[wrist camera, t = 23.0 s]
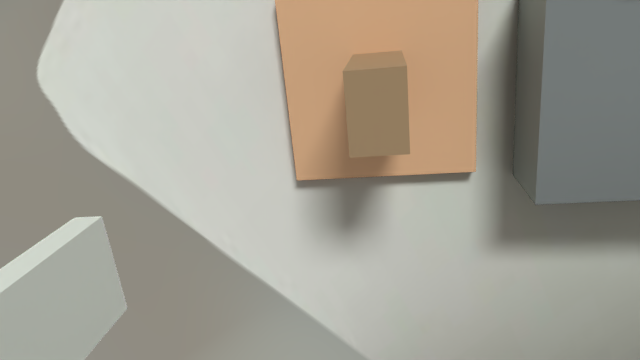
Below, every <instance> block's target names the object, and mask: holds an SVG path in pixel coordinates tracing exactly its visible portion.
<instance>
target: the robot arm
mask: <svg viewBox="0 0 640 360" xmlns="http://www.w3.org/2000/svg"><path fill="white" fill-rule="evenodd" d="M126 310H127V304H126V301H125V297H124V294H123V290H122V286H121V283H120V279H119V276H118V272H117V269H116V266H115V262H114V258H113V254H112V251H111V247H110V244H109V240H108V236H107V233H106V229H105V226H104V222H103V218H102V217H78V218H73V219H72V220H71V221H69V222H68V223H66V224H65V225H63V226H62V227H60V228H59V229H57V230H56V231H55V232H53V233H52V234H50V235H49V236H47V237H46V238H44V239H43V240H42V241H40V242H39V243H37V244H36V245H34V246H33V247H31V248H30V249H28V250H27V251H26V252H24V253H23V254H21V255H20V256H18V257H17V258H15V259H14V260H13V261H11V262H10V263H8V264H7V265H6V266H4V267H2V268H1V269H0V360H84V359H85V358H86V357H87V356H88V355H89V353H90V352H91V351H92V350H93V349H94V347H95V346H96V345H97V344H98V343H99V342H100V340H101V339H102V338H103V337H104V336H105V334H106V333H107V332H108V331H109V330H110V328H111V327H112V326H113V325H114V324H115V323H116V321H117V320H118V319H119V318H120V317H121V315H122V314H123V313H124V312H125V311H126Z"/></svg>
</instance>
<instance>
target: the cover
mask: <svg viewBox="0 0 640 360" xmlns="http://www.w3.org/2000/svg"><path fill="white" fill-rule="evenodd" d="M275 4H276V13H277V21H278V29H279V37H280V46H281V54H282V62H283V70H284V79H285V87H286V95H287V103H288V112H289V120H290V128H291V136H292V145H293V153H294V161H295V169H296V178H297V180H316V179H336V178H357V177H377V176H398V175H418V174H439V173H459V172H476V120H477V46H478V0H275Z"/></svg>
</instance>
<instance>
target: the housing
mask: <svg viewBox="0 0 640 360" xmlns="http://www.w3.org/2000/svg"><path fill="white" fill-rule="evenodd" d="M513 175H514V177H515V178H516V179H517V181H518V182H519V183H520V185H521V186H522V187H523V189H524V190H525V191H526V193H527V194H528V195H529V197H530V198H531V199H532V201H533V202H534V204H535V205H538V204H562V203H586V202H610V201H634V200H640V0H519V16H518V44H517V72H516V100H515V128H514V156H513Z"/></svg>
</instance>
